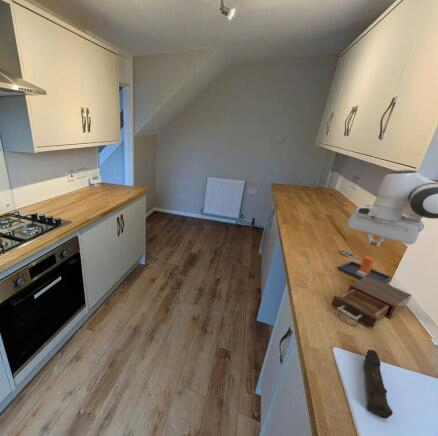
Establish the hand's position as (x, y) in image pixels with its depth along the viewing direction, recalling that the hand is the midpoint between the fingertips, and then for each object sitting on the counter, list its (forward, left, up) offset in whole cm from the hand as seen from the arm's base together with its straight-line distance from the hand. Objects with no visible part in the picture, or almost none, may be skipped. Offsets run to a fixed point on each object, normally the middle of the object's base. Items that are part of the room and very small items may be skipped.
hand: (373, 245), depth 95 cm
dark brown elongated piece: (-23, +49, -19) cm, 57 cm away
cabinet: (-8, +7, -19) cm, 22 cm away
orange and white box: (+3, -11, -19) cm, 22 cm away
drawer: (-8, +22, -18) cm, 29 cm away
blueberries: (+16, -27, -19) cm, 37 cm away
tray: (+3, -11, -19) cm, 22 cm away
